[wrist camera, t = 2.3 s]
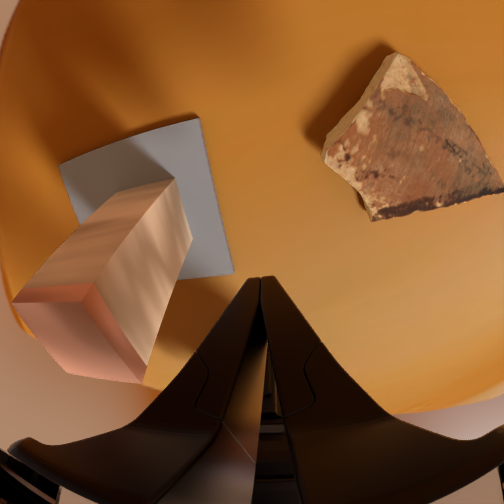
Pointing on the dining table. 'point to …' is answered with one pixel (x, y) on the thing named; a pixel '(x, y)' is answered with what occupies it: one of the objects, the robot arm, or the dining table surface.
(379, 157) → the shard
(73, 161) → the mat
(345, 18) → the dining table surface
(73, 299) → the block
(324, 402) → the robot arm
